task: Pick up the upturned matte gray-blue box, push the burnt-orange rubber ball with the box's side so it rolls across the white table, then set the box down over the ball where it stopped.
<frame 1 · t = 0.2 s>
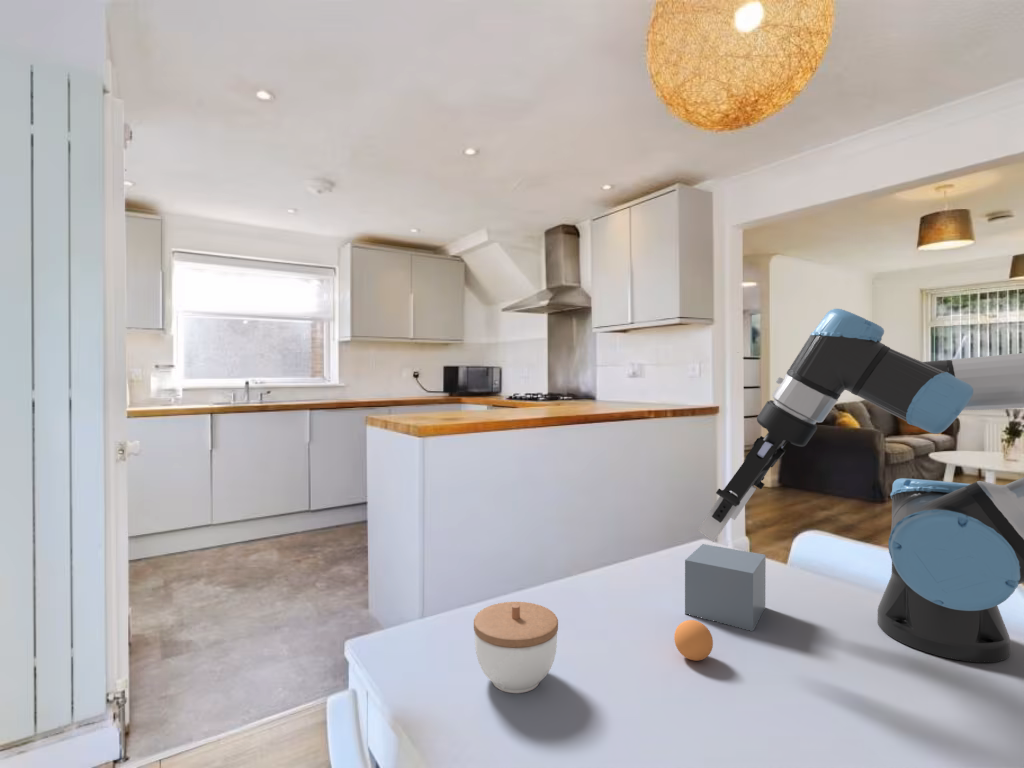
hand: (717, 524, 84), 15 cm above the table, tool tilted 30°, fingers open, 13 cm apart
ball: (693, 639, 72), on the table
matte gray-blue box: (725, 610, 87), on the table
lidded jar: (516, 681, 67), on the table
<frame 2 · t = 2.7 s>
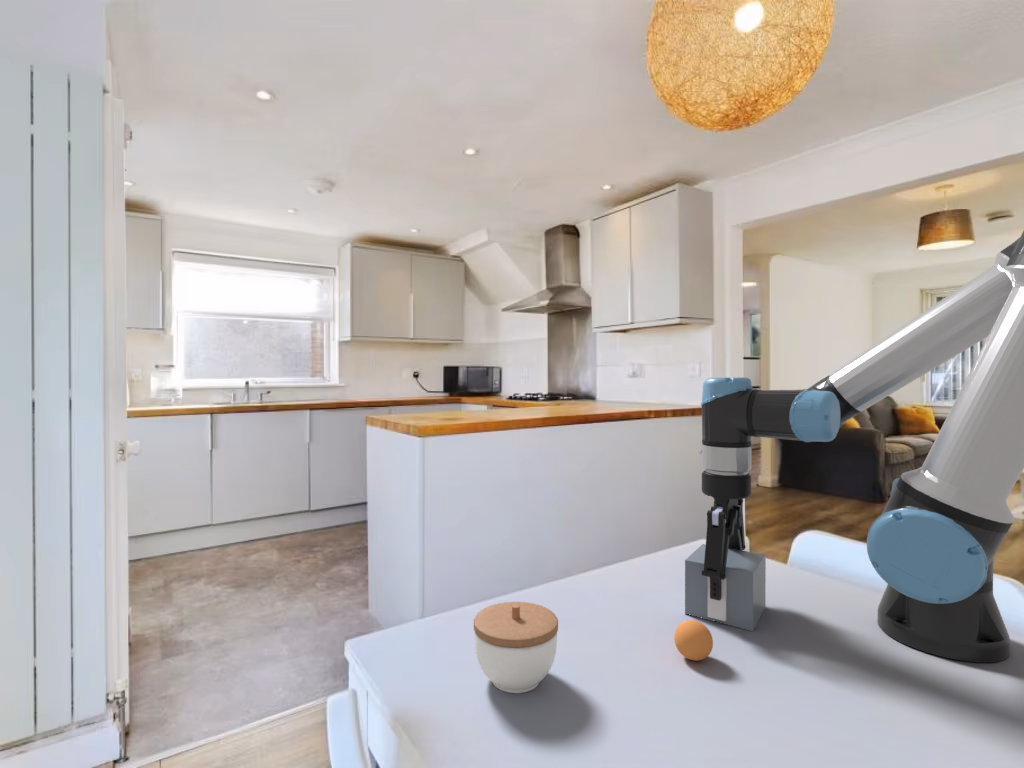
hand: (725, 605, 87), 1 cm above the table, tool pointing down, fingers closed on matte gray-blue box, 10 cm apart
matte gray-blue box: (725, 610, 87), on the table, touching gripper
everything else where it was.
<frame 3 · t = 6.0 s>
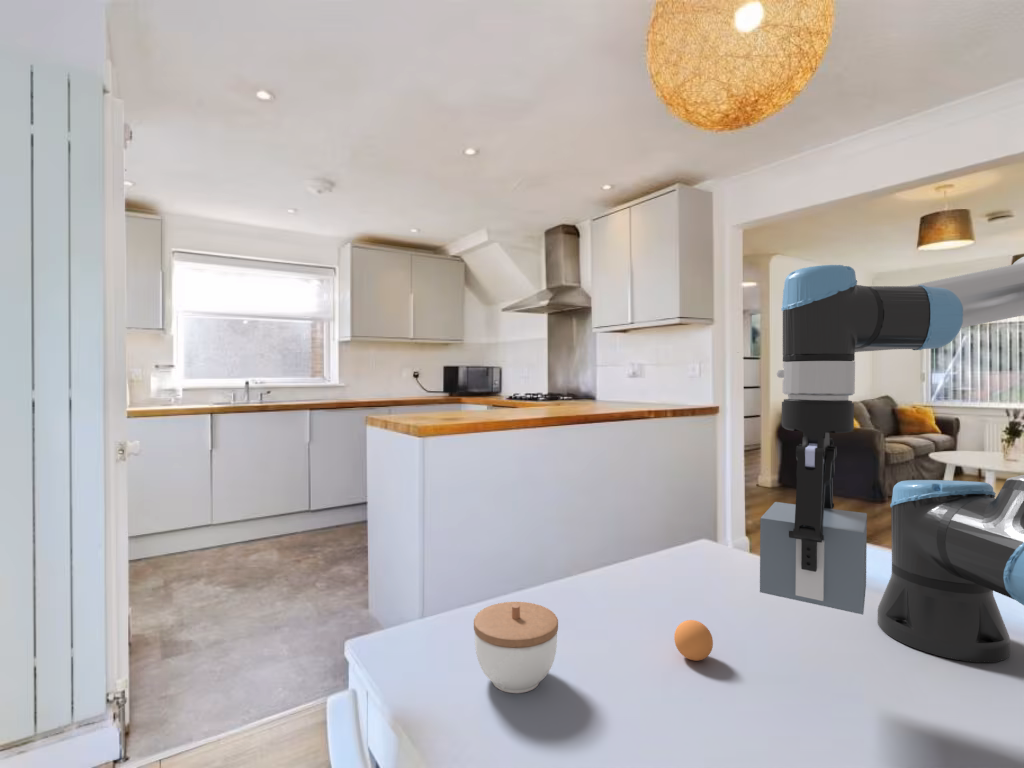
hand: (814, 581, 64), 14 cm above the table, tool pointing down, fingers closed on matte gray-blue box, 10 cm apart
matte gray-blue box: (813, 588, 64), point 13 cm above the table, touching gripper
everything else where it was.
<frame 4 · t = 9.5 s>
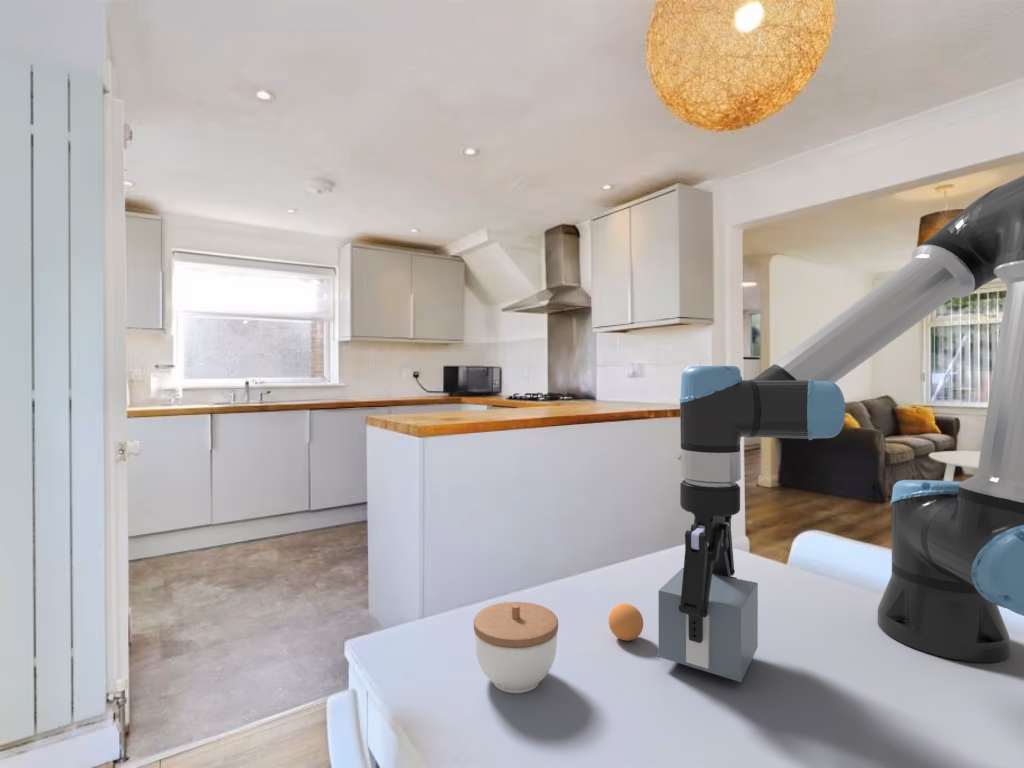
hand: (709, 646, 71), 2 cm above the table, tool pointing down, fingers closed on matte gray-blue box, 10 cm apart
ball: (625, 621, 78), on the table
matte gray-blue box: (708, 651, 71), point 1 cm above the table, touching gripper
everything else where it was.
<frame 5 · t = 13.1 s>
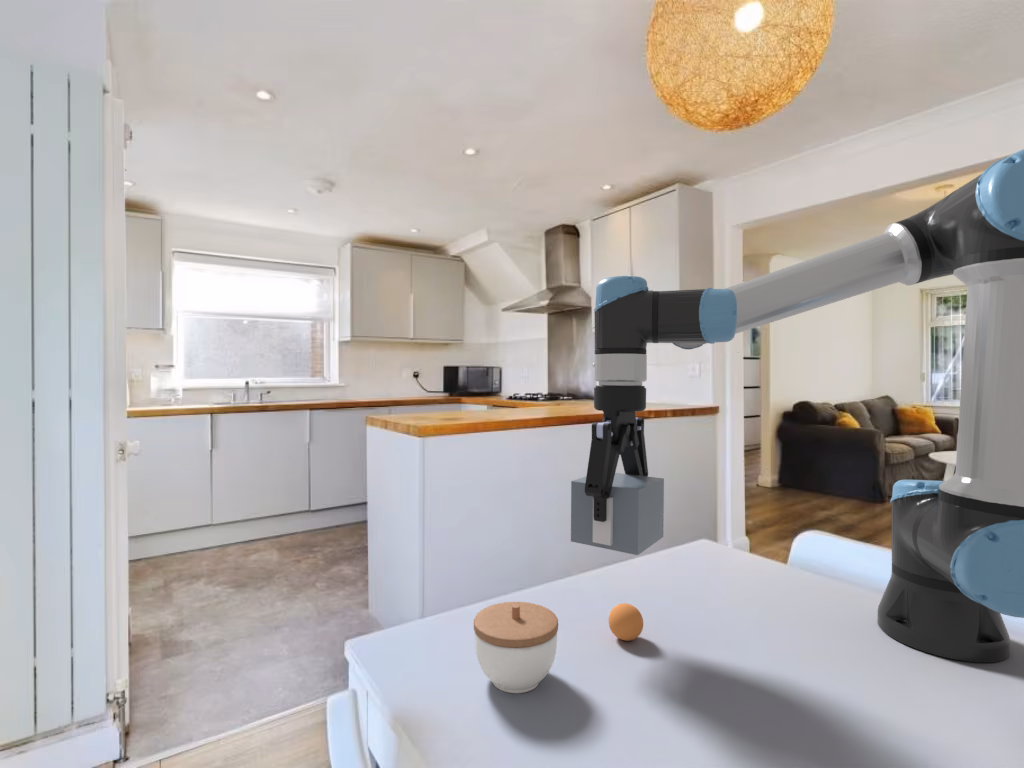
hand: (618, 533, 78), 15 cm above the table, tool pointing down, fingers closed on matte gray-blue box, 10 cm apart
matte gray-blue box: (617, 539, 78), point 14 cm above the table, touching gripper
everything else where it was.
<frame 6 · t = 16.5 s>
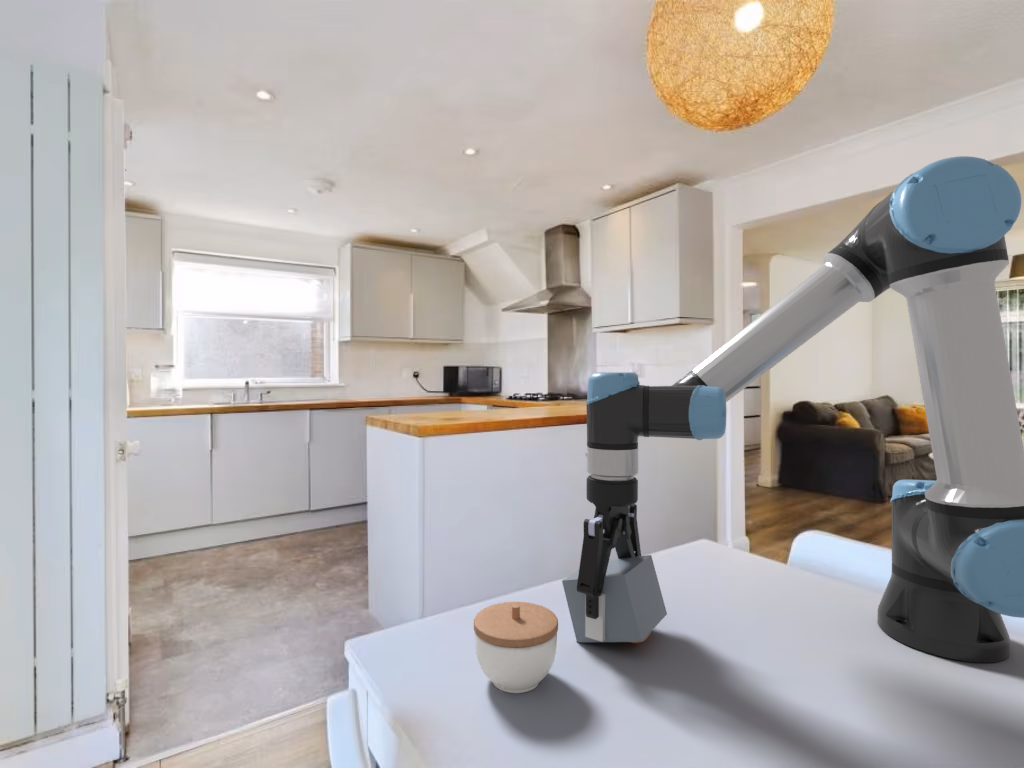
hand: (611, 623, 79), 2 cm above the table, tool pointing down, fingers closed on matte gray-blue box, 10 cm apart
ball: (633, 624, 77), on the table, touching matte gray-blue box
matte gray-blue box: (622, 628, 78), point 1 cm above the table, tilted 16°, touching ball, gripper
everything else where it was.
when the fingers open (2 cm above the table, at t = 16.9 s): matte gray-blue box drops 1 cm, on the table.
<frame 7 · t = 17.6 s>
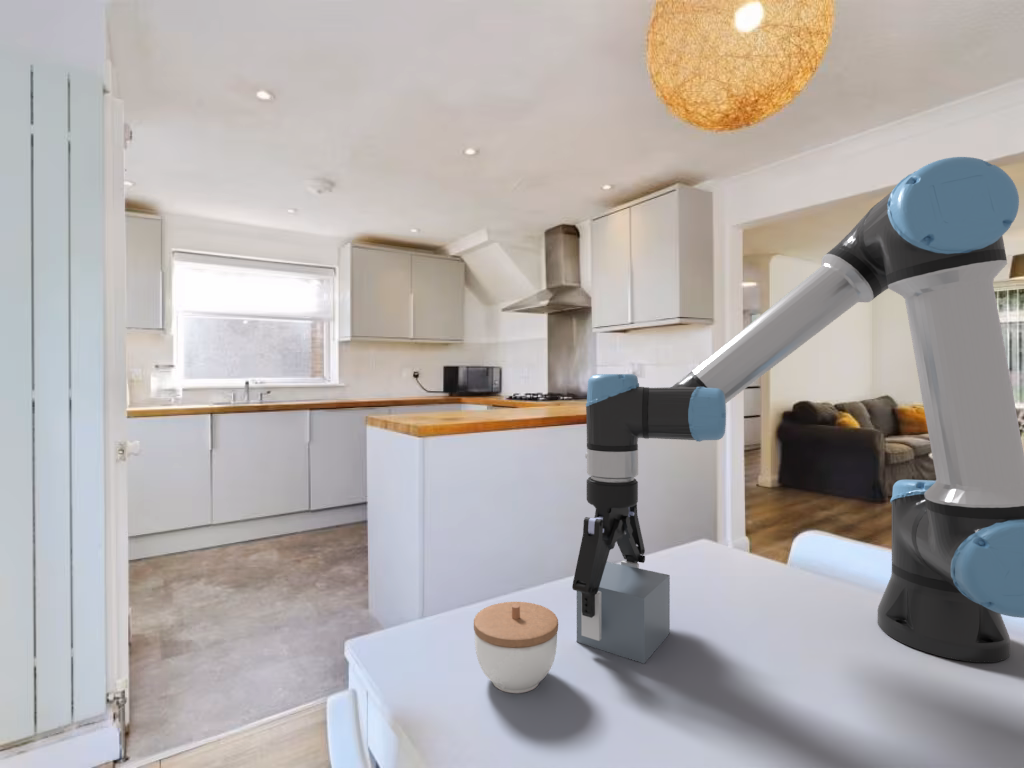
hand: (611, 619, 79), 2 cm above the table, tool pointing down, fingers open, 13 cm apart
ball: (633, 623, 77), on the table
matte gray-blue box: (623, 637, 78), on the table
everything else where it was.
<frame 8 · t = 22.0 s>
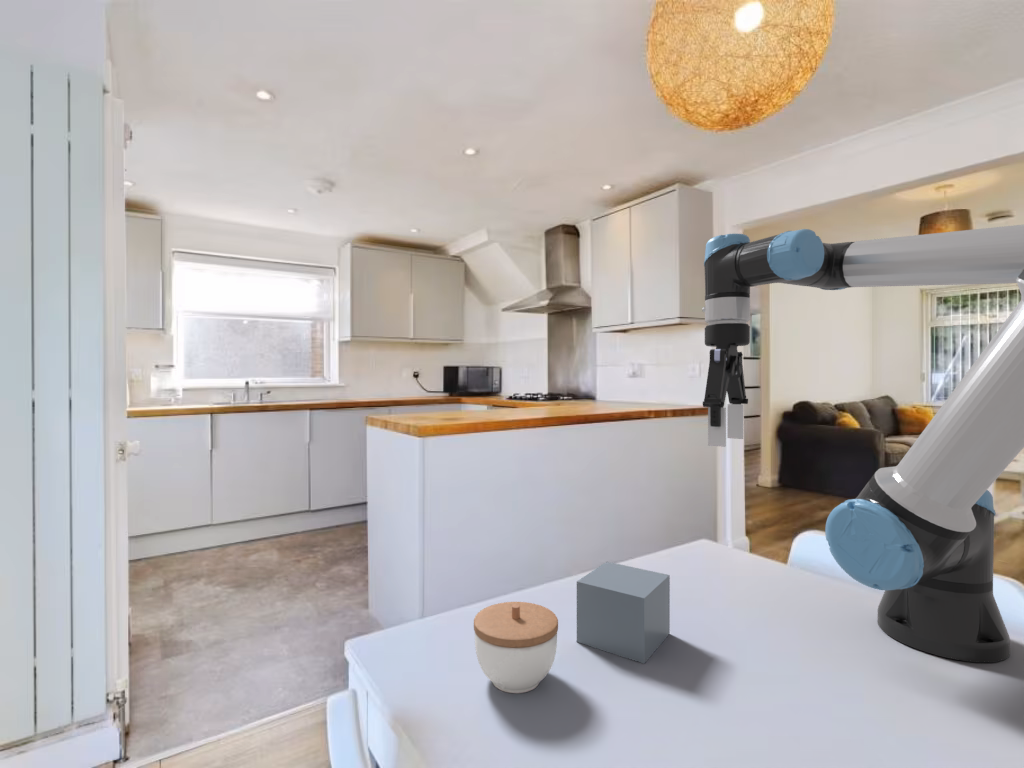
hand: (726, 442, 95), 27 cm above the table, tool pointing down, fingers open, 13 cm apart
nothing on the table moved.
at the end: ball 1.5 cm from the matte gray-blue box (horizontally); matte gray-blue box on the table; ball moved 8.5 cm from its start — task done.
